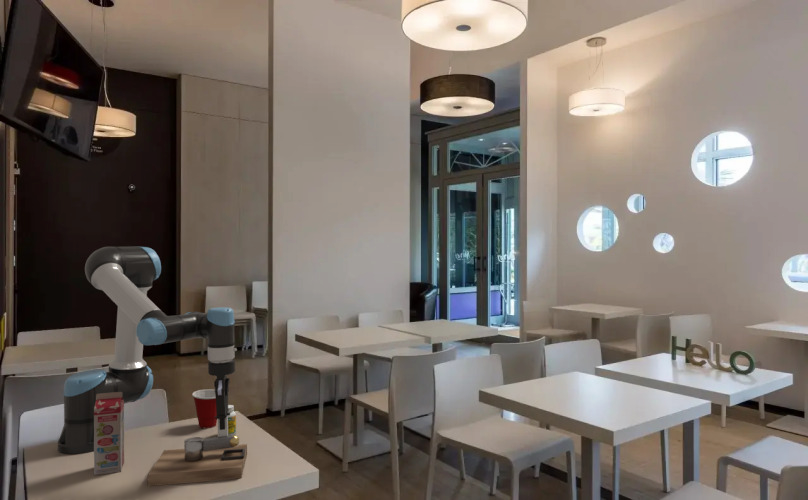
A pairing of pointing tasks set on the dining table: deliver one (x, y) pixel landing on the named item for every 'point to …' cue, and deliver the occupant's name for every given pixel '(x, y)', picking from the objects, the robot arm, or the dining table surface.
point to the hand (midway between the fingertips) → (223, 439)
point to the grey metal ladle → (207, 445)
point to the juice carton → (108, 433)
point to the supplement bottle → (231, 421)
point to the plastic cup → (205, 407)
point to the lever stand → (198, 466)
